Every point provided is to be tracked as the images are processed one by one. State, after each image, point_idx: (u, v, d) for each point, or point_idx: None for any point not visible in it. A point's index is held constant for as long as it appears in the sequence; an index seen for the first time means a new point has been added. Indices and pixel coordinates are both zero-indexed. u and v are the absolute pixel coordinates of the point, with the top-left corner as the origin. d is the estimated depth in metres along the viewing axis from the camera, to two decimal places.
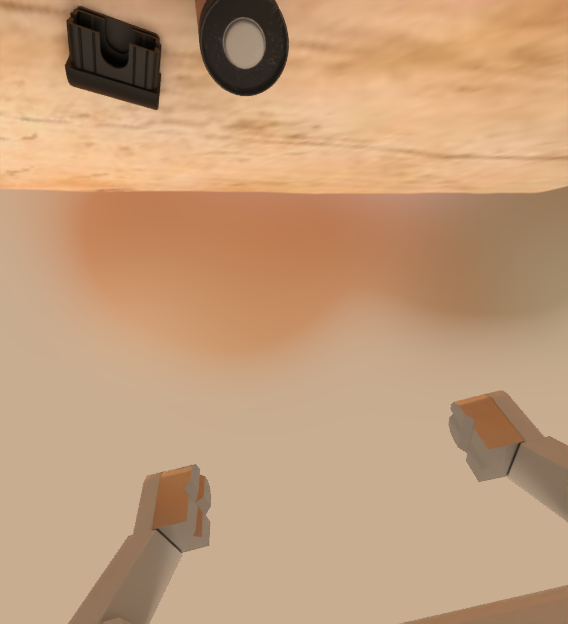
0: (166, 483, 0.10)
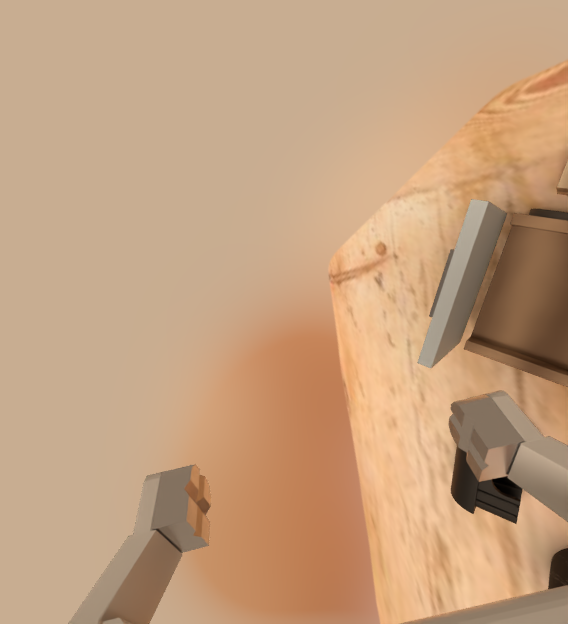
0: (166, 483, 0.10)
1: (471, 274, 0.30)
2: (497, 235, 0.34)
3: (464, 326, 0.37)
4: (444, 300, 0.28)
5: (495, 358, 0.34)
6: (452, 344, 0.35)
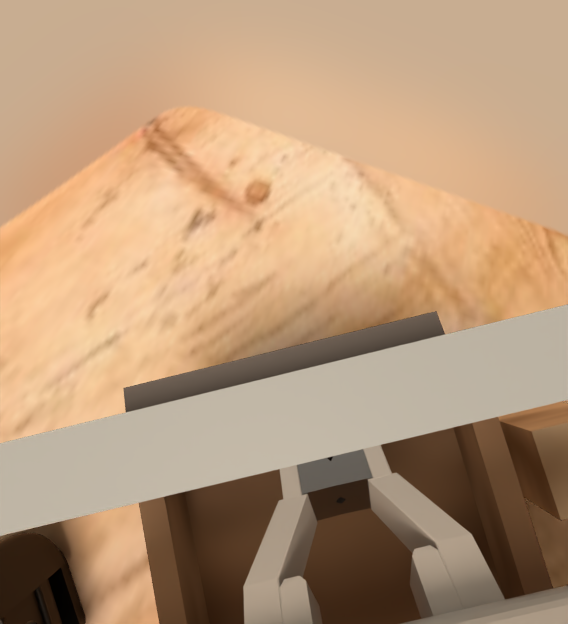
0: None
1: None
2: None
3: None
4: (216, 426, 0.05)
5: (157, 578, 0.13)
6: None
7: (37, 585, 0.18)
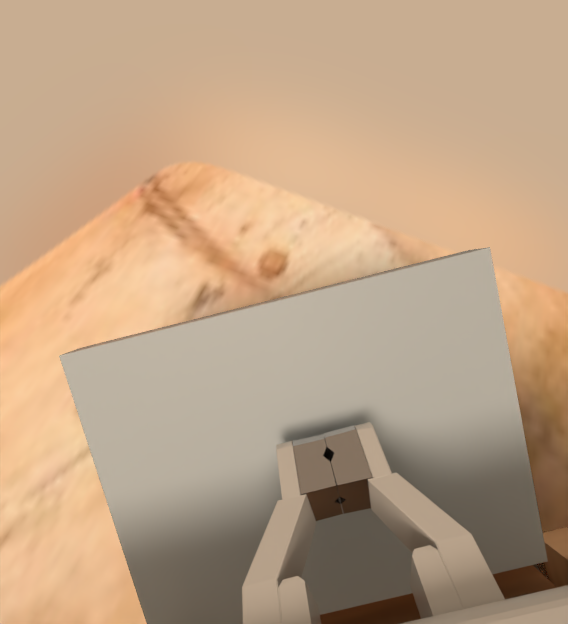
0: (301, 451, 0.10)
1: (334, 394, 0.11)
2: (479, 548, 0.12)
3: (206, 615, 0.12)
4: (244, 307, 0.12)
5: None
6: (141, 536, 0.12)
7: None
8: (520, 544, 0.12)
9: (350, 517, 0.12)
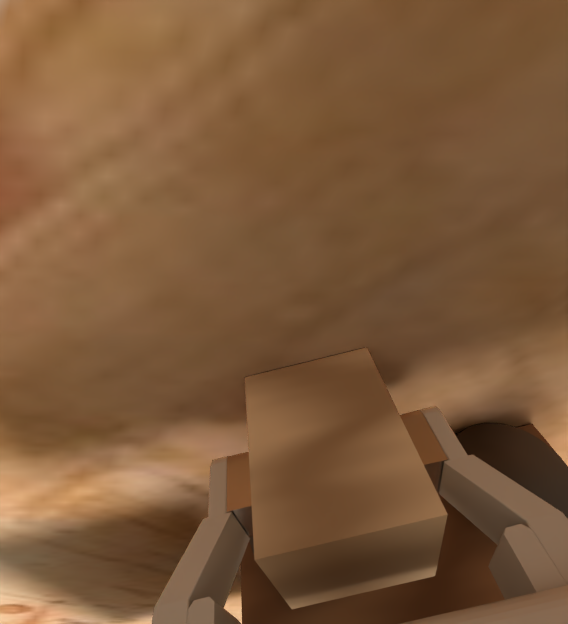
0: (234, 467, 0.10)
1: None
2: None
3: None
4: None
5: None
6: None
7: None
8: None
9: None
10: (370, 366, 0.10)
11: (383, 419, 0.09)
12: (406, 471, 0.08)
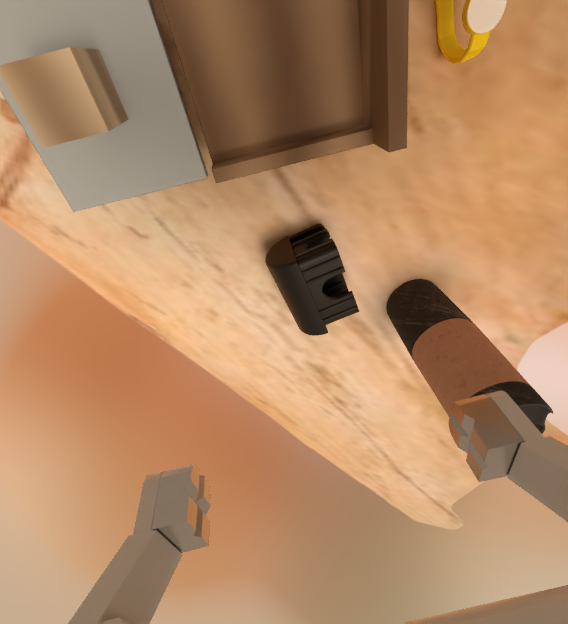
0: (166, 483, 0.10)
1: None
2: None
3: (185, 153, 0.26)
4: None
5: (254, 170, 0.25)
6: (149, 182, 0.27)
7: (289, 245, 0.35)
8: None
9: (119, 71, 0.23)
10: (92, 49, 0.21)
11: None
12: None
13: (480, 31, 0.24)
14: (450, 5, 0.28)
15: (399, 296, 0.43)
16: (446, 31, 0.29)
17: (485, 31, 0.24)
